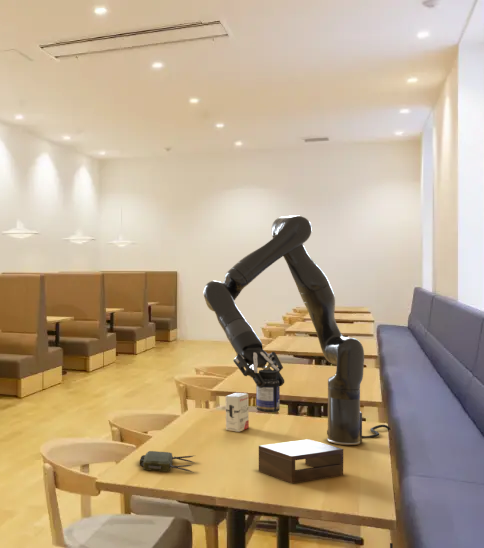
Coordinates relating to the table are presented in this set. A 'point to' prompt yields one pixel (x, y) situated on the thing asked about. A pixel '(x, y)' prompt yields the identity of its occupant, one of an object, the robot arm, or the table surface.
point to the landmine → (161, 461)
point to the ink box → (237, 412)
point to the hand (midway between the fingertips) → (272, 385)
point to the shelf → (283, 455)
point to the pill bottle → (268, 392)
